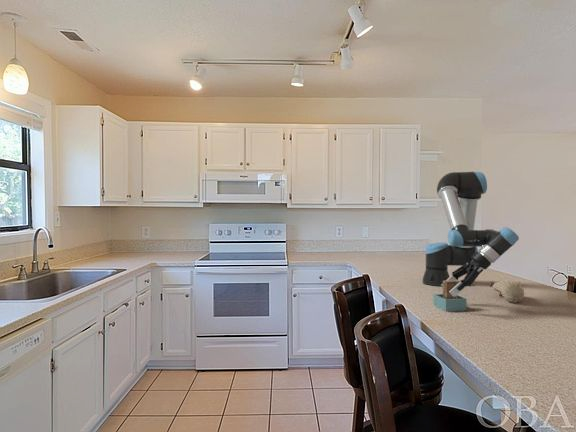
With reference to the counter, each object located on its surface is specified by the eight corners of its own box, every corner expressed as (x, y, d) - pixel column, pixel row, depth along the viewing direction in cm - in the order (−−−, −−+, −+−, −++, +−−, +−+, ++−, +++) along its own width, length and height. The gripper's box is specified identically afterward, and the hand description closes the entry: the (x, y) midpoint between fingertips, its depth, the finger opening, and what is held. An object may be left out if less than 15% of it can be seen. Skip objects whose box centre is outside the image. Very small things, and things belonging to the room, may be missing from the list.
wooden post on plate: (442, 304, 157) (442, 280, 157) (451, 304, 158) (451, 280, 157) (447, 307, 153) (447, 282, 152) (457, 307, 153) (457, 282, 153)
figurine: (483, 289, 189) (502, 304, 160) (483, 273, 189) (502, 285, 160) (507, 290, 186) (531, 306, 157) (507, 274, 186) (531, 287, 157)
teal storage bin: (433, 305, 159) (433, 294, 159) (452, 304, 161) (452, 293, 160) (445, 311, 150) (445, 300, 150) (466, 310, 151) (466, 298, 151)
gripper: (468, 247, 165) (434, 278, 168) (488, 255, 140) (448, 291, 143) (481, 259, 164) (446, 290, 167) (503, 268, 139) (462, 304, 143)
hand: (447, 290), depth 155 cm, fingers open, 13 cm apart
